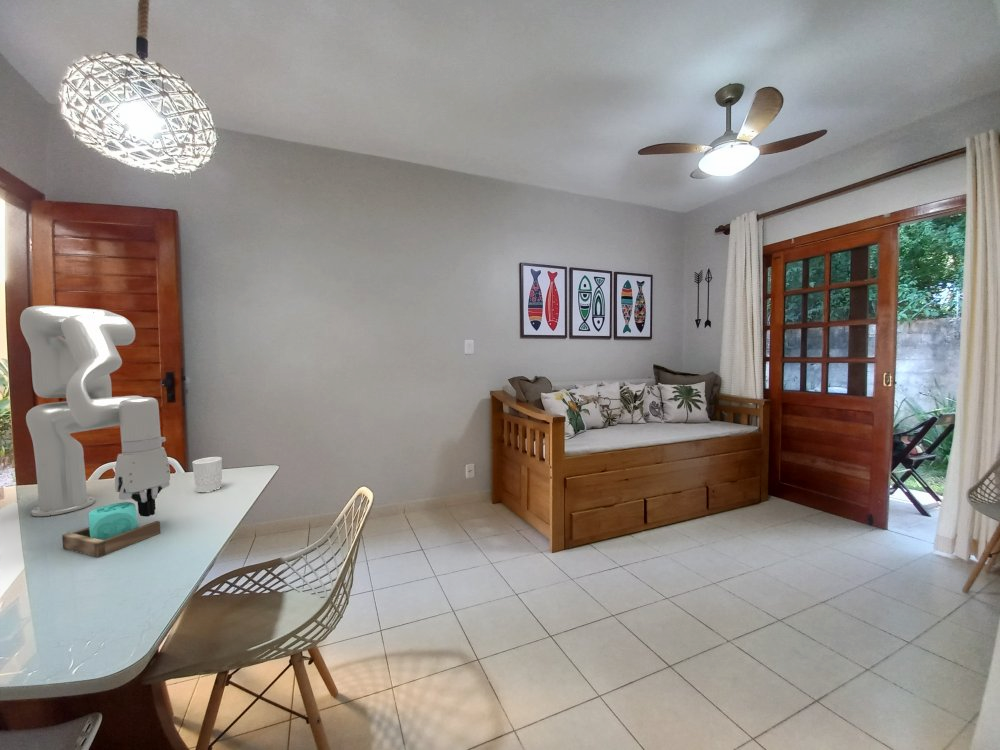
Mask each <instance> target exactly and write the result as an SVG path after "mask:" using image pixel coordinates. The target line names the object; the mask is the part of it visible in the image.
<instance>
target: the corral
mask: <svg viewBox="0 0 1000 750" xmlns="http://www.w3.org/2000/svg"><path fill="white" fill-rule="evenodd" d="M161 533H162V532H161V522H160V521H159V520H155V521H152V522H149V523H147V524H144V525H142V526H138V528H136V529H133V530H130V531H127V532H125V533H122V534H119V535H116V536H114V537H111V538H108V539H105V540H100V539H96V538H90V531H89V526H88V527H86V528H83V529H79V530H76V531H74V532H67V533H64V534H63V533H62V534H61V540H62V548H64V549H63V550H67V549H69V551H71V550H73V551H72V552H75V551H77V552H76V553H80V552H81V553H80V554H84V553H85V555H88V554H89V555H88V556H92V555H93V556H92V557H96V556H97V557H96V558H101V557H103V556H106V555H107V553H108V554H110V552H111V553H113V552H115V551H119V550H120V549H123V548H125V547H128V546H131V545H133V544H136V543H138V542H141V541H144V540H147V539H149V538H151V537H154V536H157V535H159V534H161ZM105 554H106V555H105ZM100 556H101V557H100Z"/></svg>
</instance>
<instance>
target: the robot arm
mask: <svg viewBox="0 0 1000 750" xmlns="http://www.w3.org/2000/svg"><path fill="white" fill-rule="evenodd" d="M19 325H20V330H21V333H22V335H23V337H24V338H25V341H26V343H27V345H28V347H29V350H30V363H31V378H32V388H33V391H34V393H35V394H36V395H37V396H38V397H40V398H43V399H45V398H46V399H60V398H66V401H55V402H48V403H43V404H42V403H41V404H38V405H36V406H33V407H32V408H31V409H28V411H27V412H26V416H25V421H26V426H27V429H28V431H29V434H30V437H31V440H32V445H33V453H34V460H35V473H36V484H37V494H38V496H37V497H38V505H37V506H35V507H33V509H31V512H30V513H31V516H33V517H47V516H48V517H50V515H51V516H57V515H61V514H67V513H70V512H71V513H72V512H75V511H79V510H81V509H84V508H87V507H90V506H91V505H93V504H94V503H95V500H96V498H95V497H92V496H88V491H87V477H86V467H85V466H86V465H85V455H84V454H85V453H84V448H83V447H84V446H83V445H82V443H81V442H80V441H78V440H77V439H76V438H74V437H73V436H72V435H71V434H74V433H81V432H87V431H92V430H94V431H95V430H99V429H104V428H109V427H110V428H111V427H117V426H118V427H119V428H120V429H119V430H120V441H121V443H120V444H121V453H118V454H117V457H116V463H115V470H114V473H115V474H114V488H115V492H117V493H119V494H118V499H119V500H124V501H125V500H132V501H135V502H136V503H137V511H138V514H139V516H141V517H146V518H147V517H150V516H153V515H156V499H157V498H158V496H159V494H160V492H161V491H162V490H164V489H167V488H168V487H169V486H170V484H171V482H170V480H171V469H170V463H169V458H168V455H167V452H166V450H165V447H164V446H162V445H163V443H165V442H166V441H167V438H166V437H165V436H162V435H161V421H160V409H159V408H160V407H159V402H158V399H156V398H154V397H151V396H150V397H149V396H147V397H145V396H144V397H143V396H141V395H125V396H112V394H113V393H112V391H113V390H112V377H111V375H110V374H112V373H114V372H116V371H117V370H118V369H120V368H121V367H122V364H123V360H122V357H121V356H120V354H119V351H118V350H117V347H116V346H128V345H131V344H132V343H133V342H134V341H135V339H136V329H135V327H134V325H133V323H132V322H131V321H130V320H129V319H127V318H126V317H124V316H122V315H120V314H117V313H114V312H112V311H109V310H105V309H100V308H89V307H88V308H87V307H76V306H74V307H73V306H61V305H33V306H29V307H26V308H25V309H23V310H22V312H21V314H20V318H19Z"/></svg>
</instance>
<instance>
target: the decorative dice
mask: <svg viewBox="0 0 1000 750" xmlns="http://www.w3.org/2000/svg"><path fill="white" fill-rule="evenodd" d="M137 515H138V514H137V509H136V504H135V503H133V502H131V501H130V502H129V501H124V502H116V503H112V504H107V505H102V506H100V507H97V508H95V509H92V510H90V512H88V514H87V517H88V527H89V531H90V538H96V539H100V540H105V539H108V538H111V537H114V536H116V535H119V534H122V533H125V532H127V531H130V530H133V529H136V528H138V527H139V526H138V525H139V524H138V517H137Z"/></svg>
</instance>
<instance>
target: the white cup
mask: <svg viewBox="0 0 1000 750" xmlns="http://www.w3.org/2000/svg"><path fill="white" fill-rule="evenodd" d="M191 465H192V470H193V478H194V484H195V488H196V489H195V490H196V493H198V492H206V493H208V492H207V491H212V490H215V489H217V488H219V487H221V488H222V479H223V478H222V477H223V476H222V475H223V458H222V456H221V457H220V456H210V457H203V458H199V459H195V460H193V461H192V463H191ZM215 491H216V490H215ZM212 492H213V491H212Z"/></svg>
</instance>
